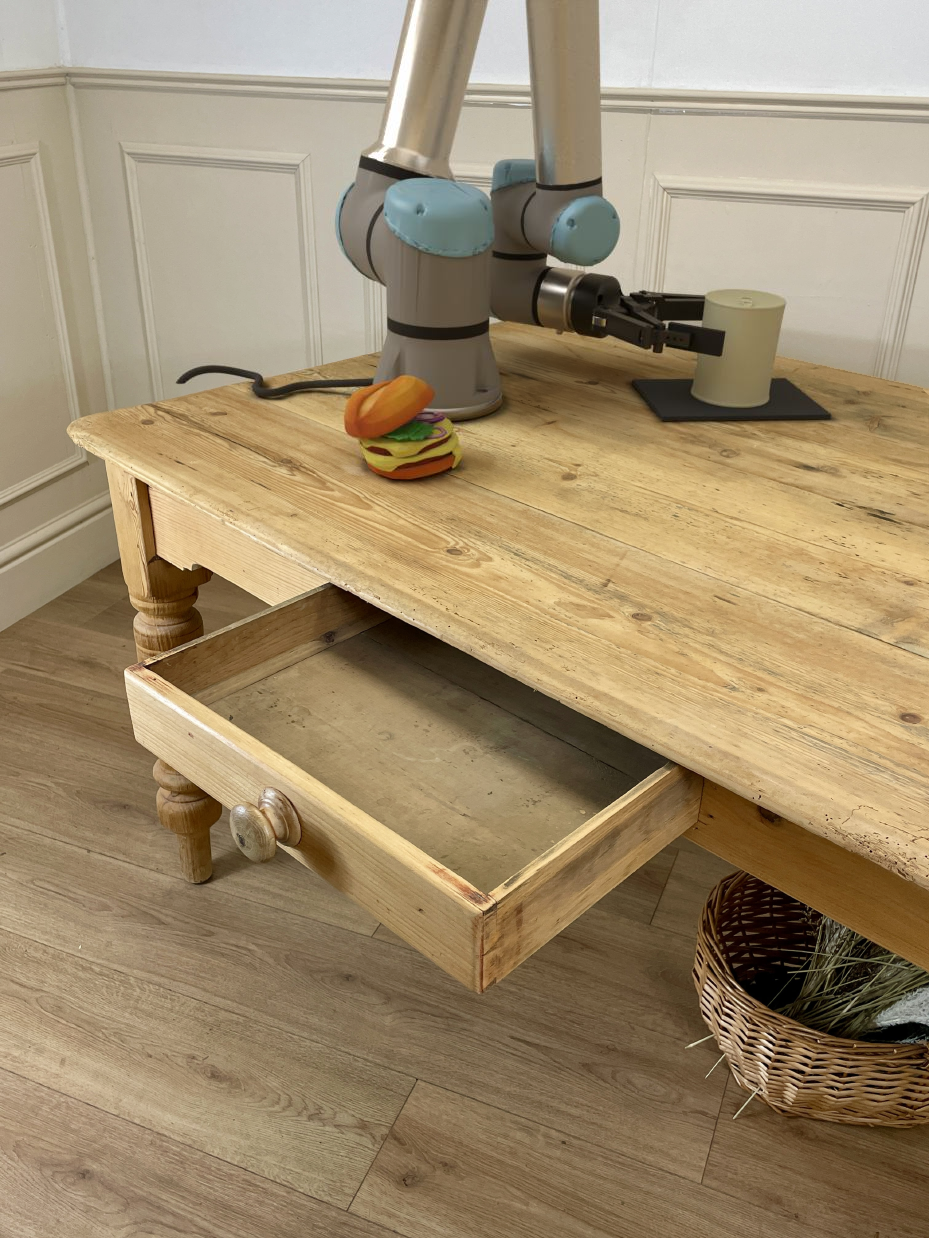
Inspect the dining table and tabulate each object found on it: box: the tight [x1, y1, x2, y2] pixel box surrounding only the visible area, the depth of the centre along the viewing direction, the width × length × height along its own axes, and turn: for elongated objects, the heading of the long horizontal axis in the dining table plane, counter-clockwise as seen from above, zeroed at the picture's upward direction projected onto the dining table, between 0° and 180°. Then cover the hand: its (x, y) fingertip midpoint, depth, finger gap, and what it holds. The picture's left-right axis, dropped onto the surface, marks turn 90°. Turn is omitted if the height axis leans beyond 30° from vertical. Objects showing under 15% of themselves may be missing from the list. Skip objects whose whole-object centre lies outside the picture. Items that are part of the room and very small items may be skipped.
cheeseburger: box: [343, 375, 463, 480], centre depth 98 cm, size 10×11×10 cm
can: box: [691, 288, 787, 408], centre depth 116 cm, size 9×9×12 cm
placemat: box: [631, 377, 832, 422], centre depth 120 cm, size 20×14×1 cm
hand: (744, 332), depth 115 cm, fingers open, 13 cm apart
